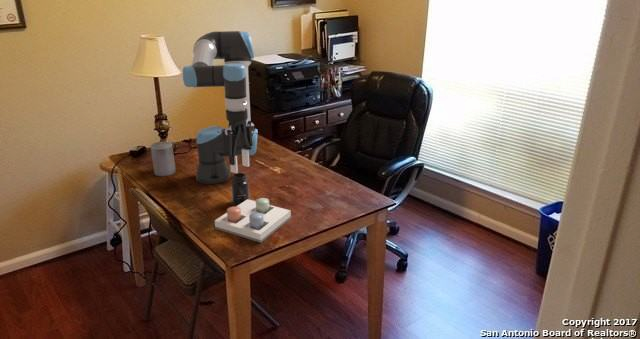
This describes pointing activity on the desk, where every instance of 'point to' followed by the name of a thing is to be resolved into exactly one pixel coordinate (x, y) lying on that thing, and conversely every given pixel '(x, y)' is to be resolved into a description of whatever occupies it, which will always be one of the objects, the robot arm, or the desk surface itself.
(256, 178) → the desk surface
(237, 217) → the terracotta button
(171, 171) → the pillar candle
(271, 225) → the console
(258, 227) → the slate button
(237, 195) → the supplement bottle
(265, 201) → the sage button
